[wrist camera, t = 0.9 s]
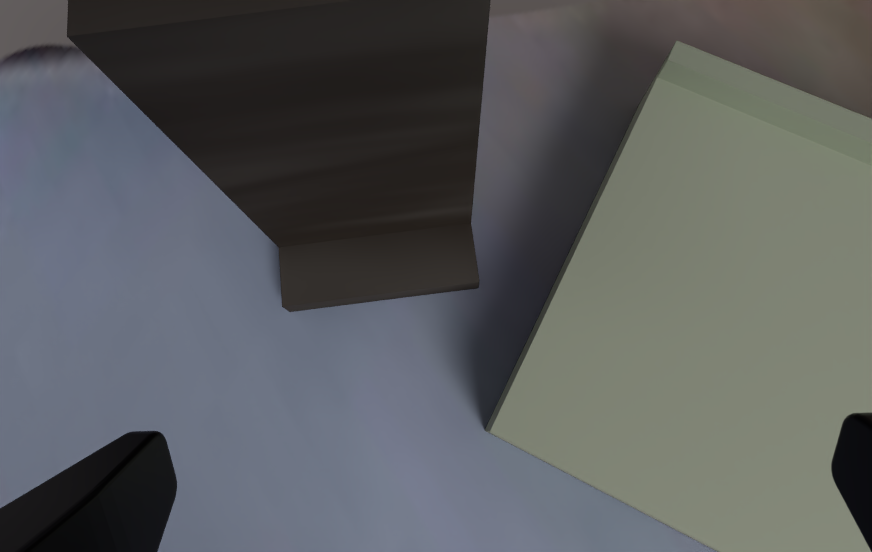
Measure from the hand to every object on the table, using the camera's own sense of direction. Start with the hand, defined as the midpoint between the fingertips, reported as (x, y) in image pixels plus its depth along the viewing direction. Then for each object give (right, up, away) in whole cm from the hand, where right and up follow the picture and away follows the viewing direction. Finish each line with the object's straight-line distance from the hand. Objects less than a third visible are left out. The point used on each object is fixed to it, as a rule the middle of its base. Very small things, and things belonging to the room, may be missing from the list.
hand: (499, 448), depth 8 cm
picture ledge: (+9, 0, +13) cm, 16 cm away
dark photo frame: (-3, +4, +15) cm, 16 cm away
